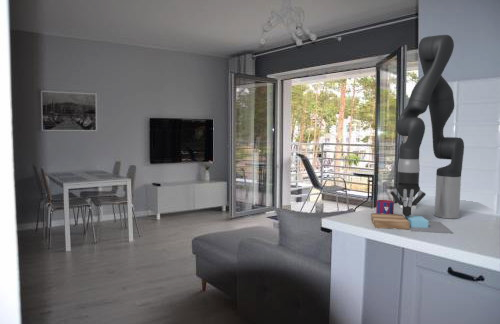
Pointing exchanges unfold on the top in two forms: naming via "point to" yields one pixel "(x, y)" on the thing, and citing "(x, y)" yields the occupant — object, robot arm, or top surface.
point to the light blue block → (417, 221)
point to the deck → (390, 221)
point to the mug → (384, 207)
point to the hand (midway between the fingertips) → (406, 216)
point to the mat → (433, 228)
